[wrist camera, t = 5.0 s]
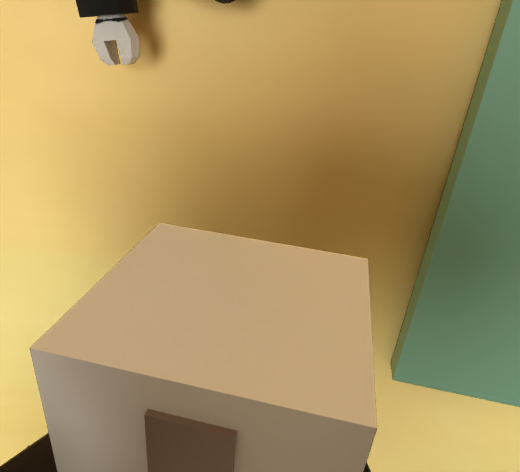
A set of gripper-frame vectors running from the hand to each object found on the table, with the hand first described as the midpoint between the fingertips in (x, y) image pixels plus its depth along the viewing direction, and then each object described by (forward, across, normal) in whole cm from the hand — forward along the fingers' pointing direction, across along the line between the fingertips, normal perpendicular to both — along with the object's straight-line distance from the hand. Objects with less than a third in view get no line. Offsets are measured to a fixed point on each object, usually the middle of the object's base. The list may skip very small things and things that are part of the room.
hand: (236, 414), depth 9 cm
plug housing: (+1, 0, 0) cm, 1 cm away
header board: (+11, -13, -3) cm, 17 cm away
